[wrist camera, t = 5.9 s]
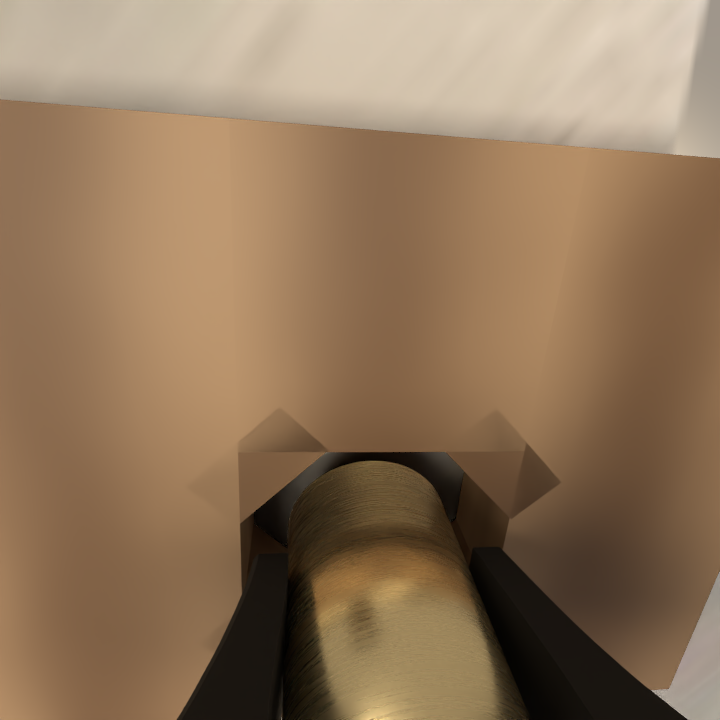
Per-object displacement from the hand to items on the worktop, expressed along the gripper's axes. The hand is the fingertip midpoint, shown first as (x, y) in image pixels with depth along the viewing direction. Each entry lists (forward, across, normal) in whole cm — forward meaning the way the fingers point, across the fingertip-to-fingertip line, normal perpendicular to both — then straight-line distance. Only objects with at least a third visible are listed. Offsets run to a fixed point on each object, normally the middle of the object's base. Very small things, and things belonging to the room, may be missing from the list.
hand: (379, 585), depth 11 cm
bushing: (+2, 0, 0) cm, 2 cm away
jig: (+4, 0, -2) cm, 4 cm away
